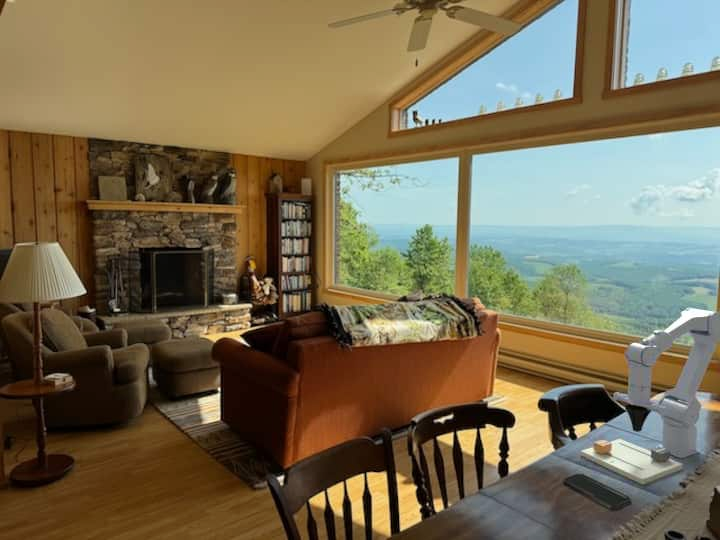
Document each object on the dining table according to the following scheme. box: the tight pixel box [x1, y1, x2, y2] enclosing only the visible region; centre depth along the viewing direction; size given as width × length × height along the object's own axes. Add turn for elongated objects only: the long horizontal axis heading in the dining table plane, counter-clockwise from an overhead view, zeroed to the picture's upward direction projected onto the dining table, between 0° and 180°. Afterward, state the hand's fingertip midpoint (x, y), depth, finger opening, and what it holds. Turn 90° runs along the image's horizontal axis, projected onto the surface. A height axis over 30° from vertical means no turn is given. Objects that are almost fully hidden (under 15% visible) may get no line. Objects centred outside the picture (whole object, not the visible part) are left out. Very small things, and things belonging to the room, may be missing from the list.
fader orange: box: [593, 439, 612, 454], centre depth 146 cm, size 4×3×2 cm
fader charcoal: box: [650, 447, 671, 462], centre depth 141 cm, size 4×3×2 cm
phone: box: [562, 473, 632, 510], centre depth 127 cm, size 8×1×15 cm
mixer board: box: [580, 438, 683, 485], centre depth 143 cm, size 18×19×2 cm
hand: (637, 430), depth 145 cm, fingers closed
